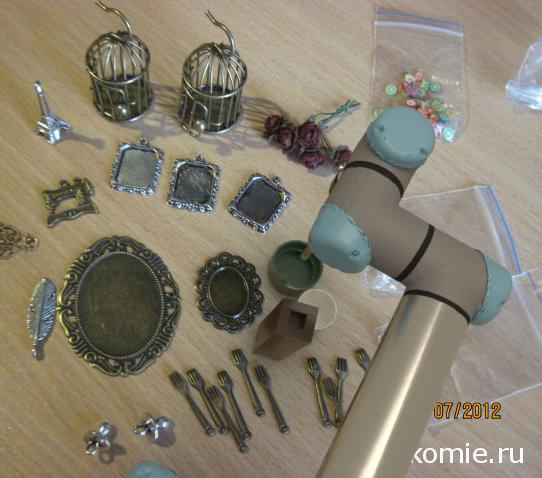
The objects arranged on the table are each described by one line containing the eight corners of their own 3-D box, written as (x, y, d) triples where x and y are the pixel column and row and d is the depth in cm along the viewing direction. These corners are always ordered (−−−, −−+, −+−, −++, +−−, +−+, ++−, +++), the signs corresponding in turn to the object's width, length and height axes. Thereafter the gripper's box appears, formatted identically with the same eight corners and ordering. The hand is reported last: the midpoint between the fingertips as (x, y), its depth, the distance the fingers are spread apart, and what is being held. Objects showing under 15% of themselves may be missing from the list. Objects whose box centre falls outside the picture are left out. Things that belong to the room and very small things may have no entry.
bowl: (309, 302, 117) (317, 296, 111) (261, 288, 117) (266, 281, 111) (320, 256, 121) (327, 248, 115) (273, 243, 121) (279, 234, 115)
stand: (279, 361, 112) (311, 343, 88) (251, 352, 112) (275, 332, 88) (286, 332, 114) (319, 307, 90) (258, 324, 114) (284, 297, 90)
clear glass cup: (323, 302, 117) (337, 291, 108) (322, 339, 115) (336, 331, 105) (287, 297, 117) (298, 286, 107) (285, 334, 114) (295, 326, 105)
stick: (306, 262, 109) (339, 224, 88) (298, 260, 109) (329, 221, 88) (308, 254, 109) (341, 215, 88) (300, 252, 109) (331, 212, 88)
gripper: (346, 133, 78) (307, 197, 101) (325, 225, 74) (288, 271, 96) (397, 148, 78) (346, 209, 101) (379, 241, 74) (330, 283, 96)
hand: (318, 239), depth 98 cm, fingers closed on stick, 1 cm apart
